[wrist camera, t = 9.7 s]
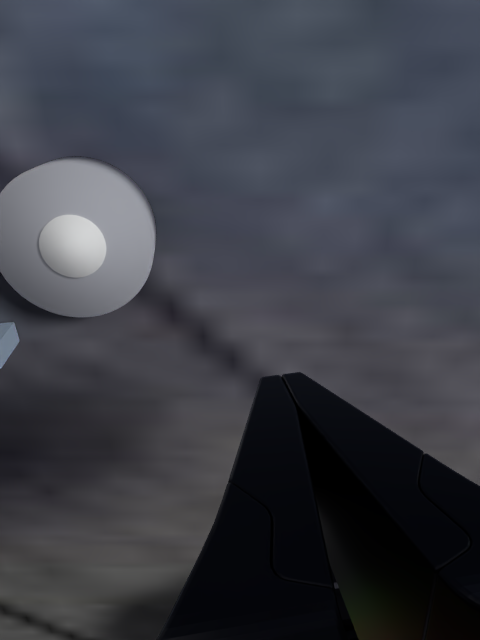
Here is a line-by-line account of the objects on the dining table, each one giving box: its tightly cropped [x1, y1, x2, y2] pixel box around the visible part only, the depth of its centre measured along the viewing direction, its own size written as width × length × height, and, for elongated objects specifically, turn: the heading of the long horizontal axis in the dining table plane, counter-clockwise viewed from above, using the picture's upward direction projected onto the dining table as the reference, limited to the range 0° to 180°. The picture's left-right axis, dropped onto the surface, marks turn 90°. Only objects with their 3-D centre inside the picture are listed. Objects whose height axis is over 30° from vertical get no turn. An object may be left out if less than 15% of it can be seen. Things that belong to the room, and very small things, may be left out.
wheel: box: [0, 156, 157, 317], centre depth 18 cm, size 6×6×3 cm
